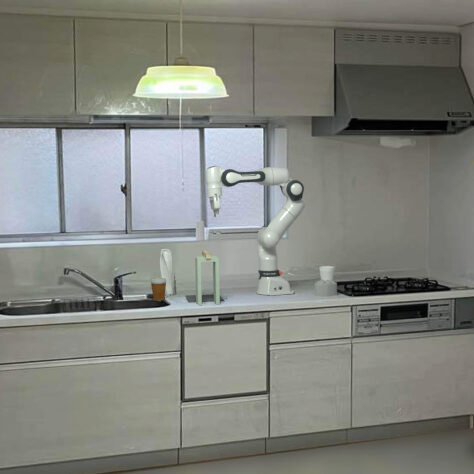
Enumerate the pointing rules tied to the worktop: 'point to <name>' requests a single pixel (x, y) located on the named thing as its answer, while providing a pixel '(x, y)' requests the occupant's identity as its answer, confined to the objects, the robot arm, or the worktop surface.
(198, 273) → the bridge
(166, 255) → the skyscraper
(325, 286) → the lumpy-topped squat cylinder
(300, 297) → the worktop surface
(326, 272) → the foam cup
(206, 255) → the bar
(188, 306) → the worktop surface
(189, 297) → the mat
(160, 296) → the disposable coffee cup
